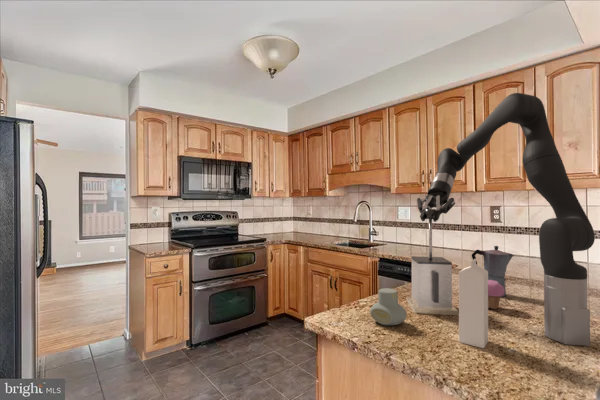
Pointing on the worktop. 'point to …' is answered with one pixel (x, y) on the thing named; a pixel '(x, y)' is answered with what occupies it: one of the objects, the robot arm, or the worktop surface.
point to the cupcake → (494, 293)
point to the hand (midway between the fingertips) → (428, 219)
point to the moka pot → (495, 264)
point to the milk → (473, 305)
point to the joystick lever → (430, 228)
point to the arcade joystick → (431, 286)
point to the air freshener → (388, 308)
